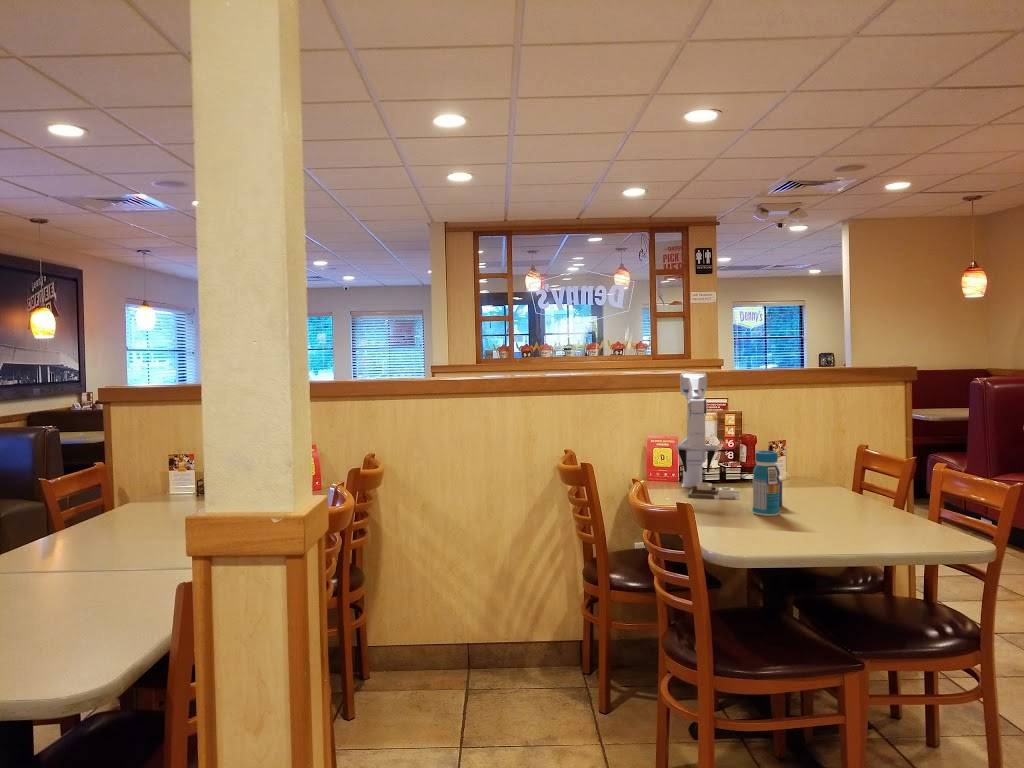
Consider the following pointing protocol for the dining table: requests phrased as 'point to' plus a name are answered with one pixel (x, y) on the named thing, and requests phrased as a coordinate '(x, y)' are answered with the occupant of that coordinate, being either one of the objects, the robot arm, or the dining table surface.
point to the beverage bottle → (766, 484)
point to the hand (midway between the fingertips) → (696, 471)
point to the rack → (709, 494)
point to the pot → (726, 492)
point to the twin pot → (704, 486)
